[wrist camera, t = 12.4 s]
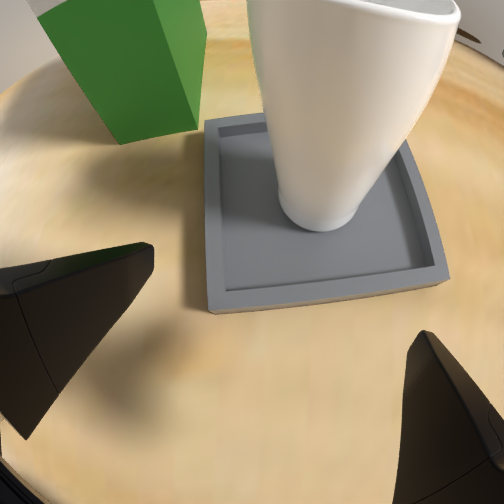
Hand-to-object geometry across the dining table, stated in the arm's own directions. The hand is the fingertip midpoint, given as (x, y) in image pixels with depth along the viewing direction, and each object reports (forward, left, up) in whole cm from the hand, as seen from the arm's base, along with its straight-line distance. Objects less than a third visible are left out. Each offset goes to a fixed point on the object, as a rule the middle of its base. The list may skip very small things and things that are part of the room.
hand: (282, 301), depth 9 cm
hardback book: (-8, +25, -10) cm, 28 cm away
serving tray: (+4, +8, -9) cm, 13 cm away
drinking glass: (+3, +8, -9) cm, 12 cm away
